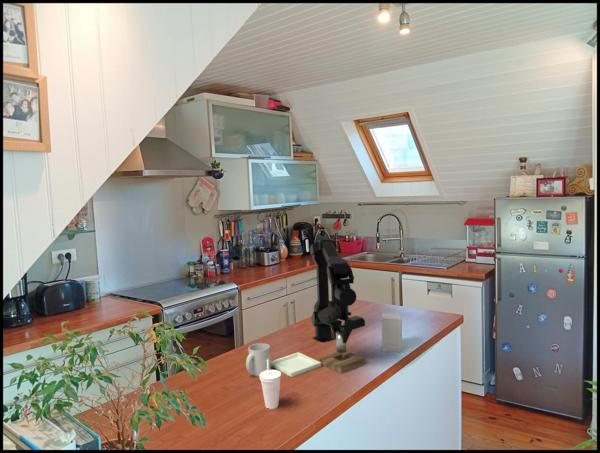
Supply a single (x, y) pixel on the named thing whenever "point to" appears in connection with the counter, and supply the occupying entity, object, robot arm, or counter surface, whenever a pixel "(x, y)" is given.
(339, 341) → the pin
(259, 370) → the cup
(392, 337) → the supplement box
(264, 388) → the smoothie
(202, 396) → the counter surface
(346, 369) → the socket
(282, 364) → the tray
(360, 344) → the counter surface
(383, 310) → the counter surface
